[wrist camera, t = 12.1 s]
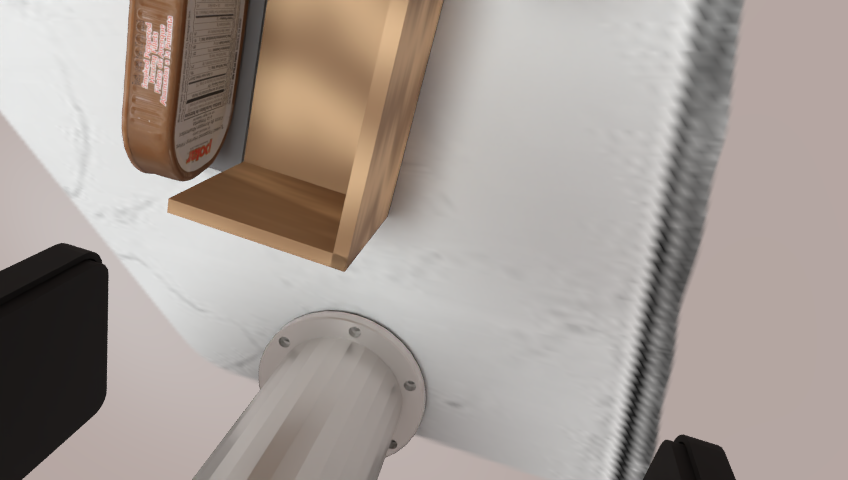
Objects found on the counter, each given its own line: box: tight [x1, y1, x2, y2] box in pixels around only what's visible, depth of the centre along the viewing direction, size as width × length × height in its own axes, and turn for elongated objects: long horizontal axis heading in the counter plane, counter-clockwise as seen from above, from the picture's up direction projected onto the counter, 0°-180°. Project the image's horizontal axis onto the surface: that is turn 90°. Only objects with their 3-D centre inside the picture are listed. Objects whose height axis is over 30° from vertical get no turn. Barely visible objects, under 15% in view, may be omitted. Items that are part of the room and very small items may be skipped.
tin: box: [122, 0, 249, 181], centre depth 33 cm, size 15×3×8 cm, turn 164°
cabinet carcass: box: [167, 0, 444, 272], centre depth 31 cm, size 16×10×10 cm, turn 165°
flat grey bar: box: [209, 0, 267, 172], centre depth 37 cm, size 17×4×1 cm, turn 164°
